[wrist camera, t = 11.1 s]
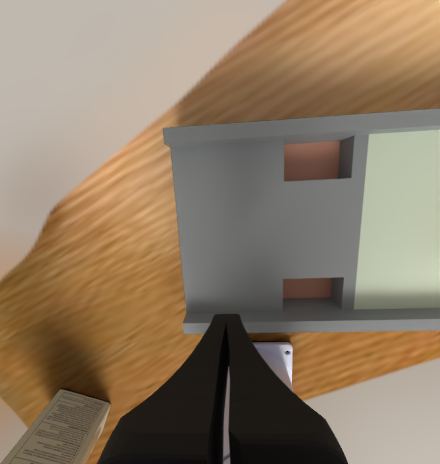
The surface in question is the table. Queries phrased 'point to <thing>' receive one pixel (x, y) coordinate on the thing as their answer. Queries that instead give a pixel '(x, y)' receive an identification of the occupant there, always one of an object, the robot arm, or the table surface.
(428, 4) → the table surface
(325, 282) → the trap box
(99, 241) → the table surface
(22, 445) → the skincare box
